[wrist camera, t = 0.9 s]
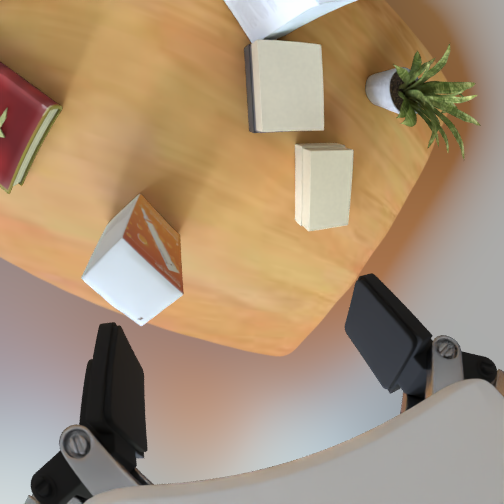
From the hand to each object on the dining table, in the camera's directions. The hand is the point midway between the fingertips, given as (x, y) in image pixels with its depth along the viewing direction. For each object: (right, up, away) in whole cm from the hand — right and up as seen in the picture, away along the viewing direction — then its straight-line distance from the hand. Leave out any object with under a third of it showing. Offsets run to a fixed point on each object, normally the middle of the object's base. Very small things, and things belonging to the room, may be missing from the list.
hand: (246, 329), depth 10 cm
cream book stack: (+9, +13, +27) cm, 31 cm away
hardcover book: (-33, +22, +9) cm, 41 cm away
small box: (-14, +6, +24) cm, 28 cm away
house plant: (+19, +26, +22) cm, 39 cm away
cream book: (+4, +21, +15) cm, 26 cm away
